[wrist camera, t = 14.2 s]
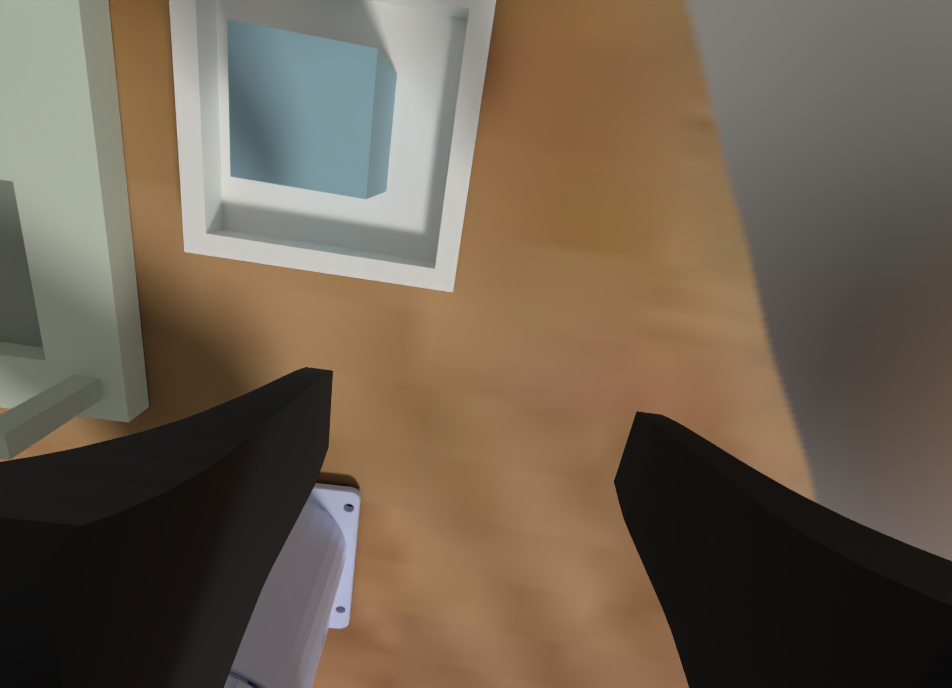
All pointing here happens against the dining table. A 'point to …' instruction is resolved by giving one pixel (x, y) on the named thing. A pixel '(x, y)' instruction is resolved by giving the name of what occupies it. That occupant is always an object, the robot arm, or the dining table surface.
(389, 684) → the dining table surface
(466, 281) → the dining table surface
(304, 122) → the block
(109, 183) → the puzzle board
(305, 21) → the dish
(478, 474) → the dining table surface
